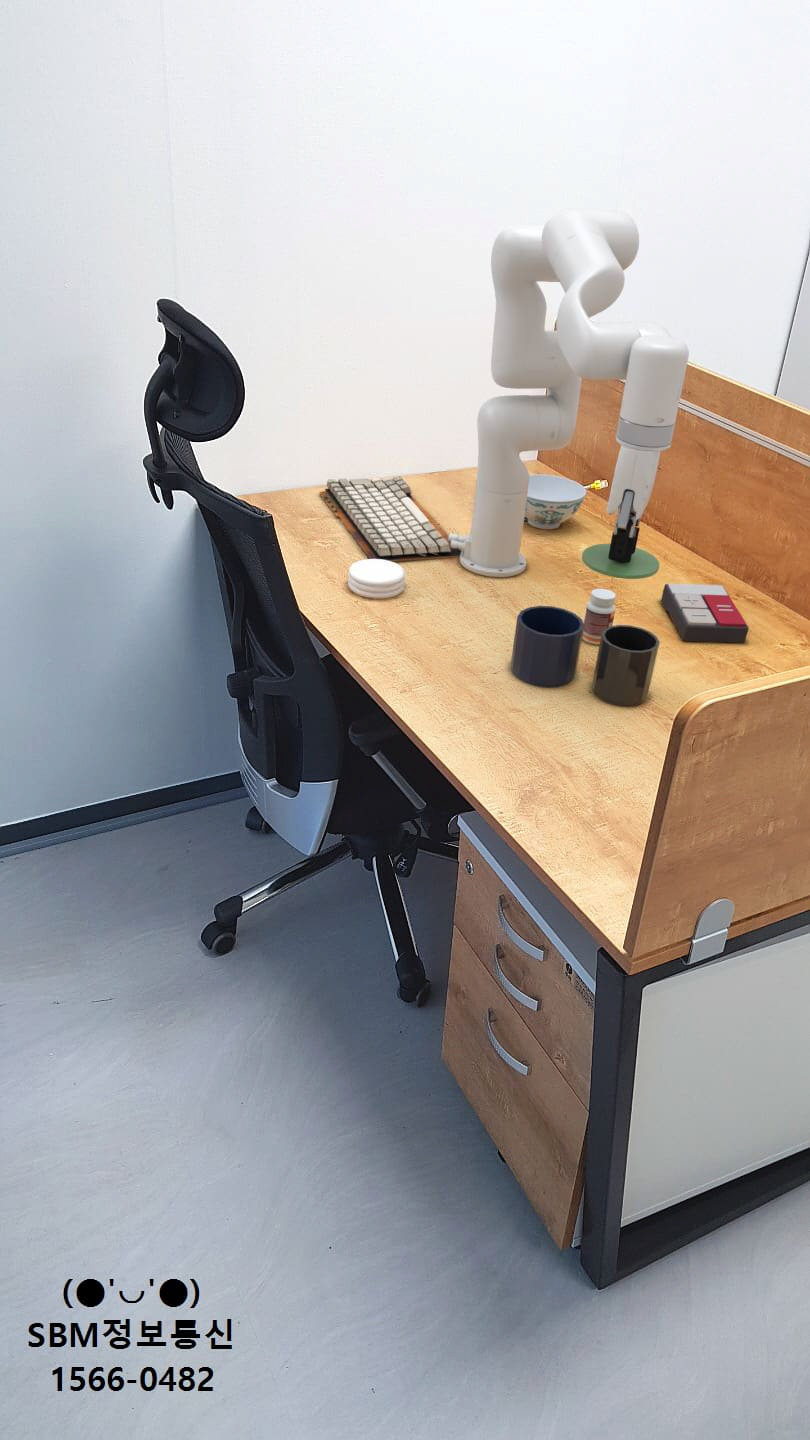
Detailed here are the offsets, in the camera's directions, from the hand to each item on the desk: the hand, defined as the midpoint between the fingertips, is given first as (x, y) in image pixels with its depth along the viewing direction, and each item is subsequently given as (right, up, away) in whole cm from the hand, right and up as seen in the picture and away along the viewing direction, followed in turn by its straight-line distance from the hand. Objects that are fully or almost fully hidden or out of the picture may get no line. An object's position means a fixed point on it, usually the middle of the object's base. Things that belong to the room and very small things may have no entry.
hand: (621, 555), depth 160 cm
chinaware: (-3, +17, +68) cm, 70 cm away
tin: (-10, -16, +15) cm, 24 cm away
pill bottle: (+1, -10, +26) cm, 28 cm away
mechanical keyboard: (-35, +16, +62) cm, 73 cm away
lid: (0, -1, +1) cm, 1 cm away
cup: (+2, -20, +11) cm, 22 cm away
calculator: (+21, -7, +34) cm, 40 cm away
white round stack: (-37, -1, +36) cm, 52 cm away
